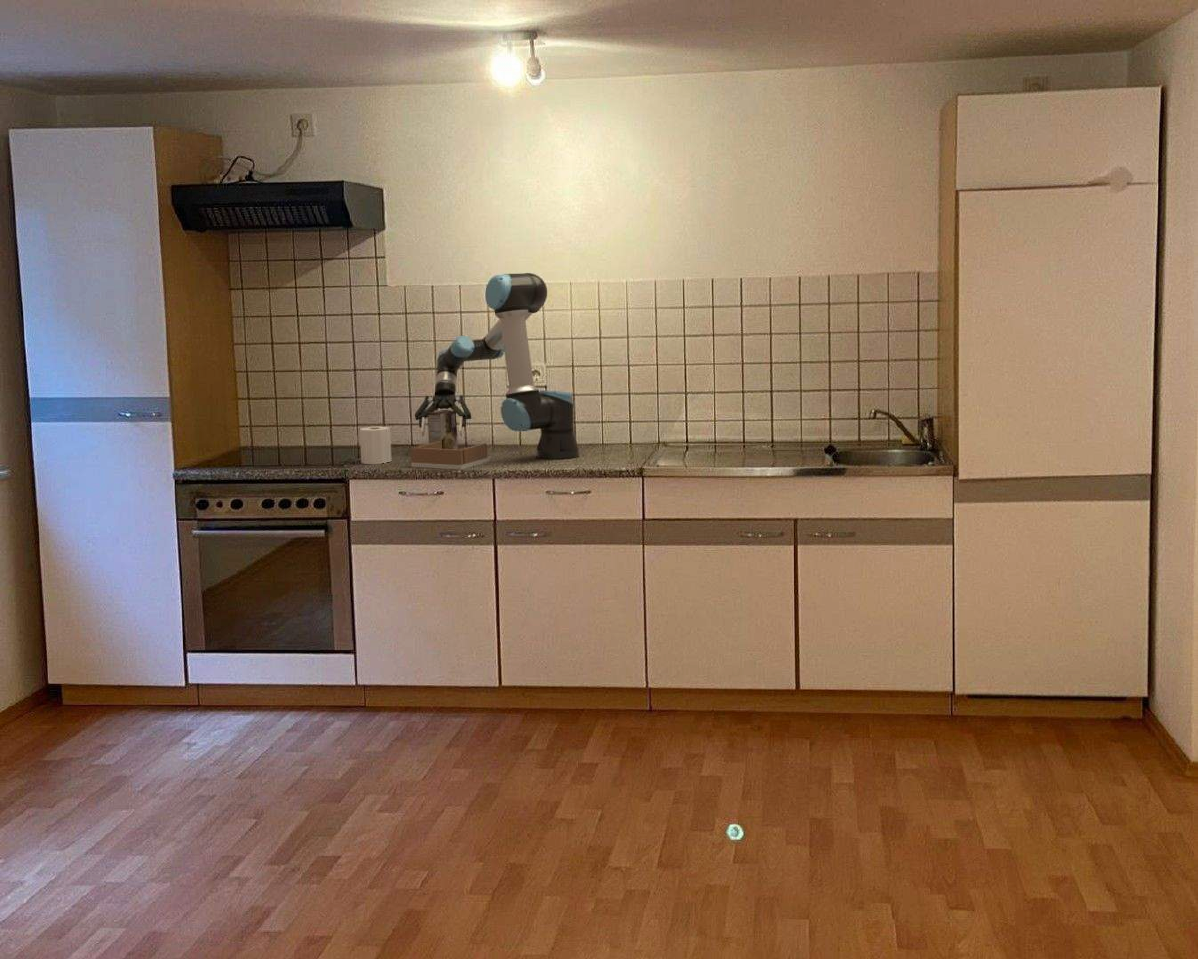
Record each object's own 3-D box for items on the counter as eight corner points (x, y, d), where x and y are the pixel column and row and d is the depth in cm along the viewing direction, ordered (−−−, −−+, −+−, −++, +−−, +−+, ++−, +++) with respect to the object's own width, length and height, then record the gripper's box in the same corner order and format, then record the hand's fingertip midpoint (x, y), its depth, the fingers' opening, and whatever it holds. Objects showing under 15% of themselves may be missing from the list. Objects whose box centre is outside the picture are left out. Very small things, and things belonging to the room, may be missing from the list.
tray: (488, 461, 508) (488, 443, 507) (461, 469, 493) (460, 450, 492) (440, 459, 517) (439, 440, 516) (411, 466, 501) (410, 448, 500)
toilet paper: (397, 461, 514) (395, 427, 512) (372, 465, 507) (370, 430, 505) (380, 459, 521) (378, 425, 519) (355, 462, 514) (354, 428, 512)
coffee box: (445, 453, 530) (443, 409, 528) (458, 454, 527) (456, 410, 524) (428, 457, 523) (426, 412, 520) (442, 458, 519) (440, 413, 517)
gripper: (480, 393, 537) (477, 439, 525) (413, 394, 538) (408, 440, 526) (478, 380, 531) (475, 426, 519) (410, 381, 532) (405, 427, 520)
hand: (441, 433), depth 522 cm, fingers open, 13 cm apart
